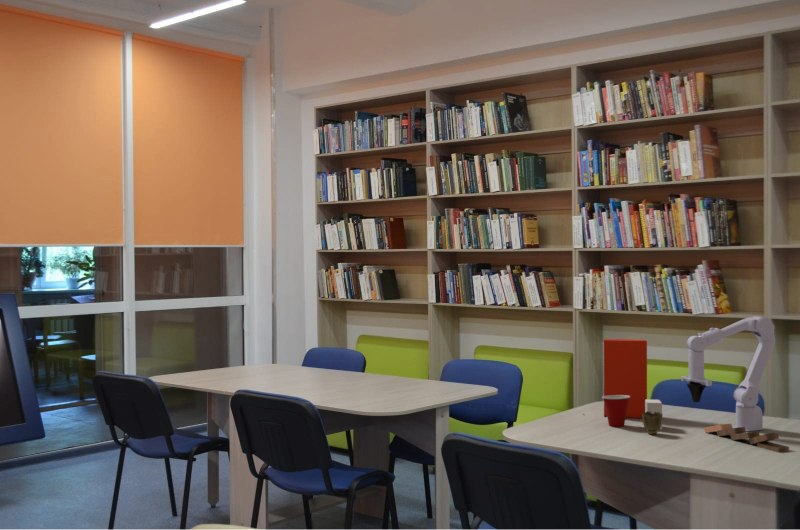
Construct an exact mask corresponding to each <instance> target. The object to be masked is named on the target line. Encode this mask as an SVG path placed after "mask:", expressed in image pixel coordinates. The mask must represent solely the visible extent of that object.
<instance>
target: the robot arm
mask: <svg viewBox="0 0 800 530" xmlns="http://www.w3.org/2000/svg"><path fill="white" fill-rule="evenodd" d="M743 331H750V332H752V333H753V334H754V335H755V337H756V339H757V340H758V345H757V347H756V349H755V352H754V355H753V358H752V360H751V363H750V365H749V368H748V370H747V373H746V375H745V377H744V379H743V380H742V381H741V382H740V383H739V386H738V387H737V388H736V389H735V390H734V392H733V399H734V400H735V401H736V402H735V425H733V426H732V428H739V427H745V430H746V432H756V431H763V430H765V428H764V427H763V423H764V421H763V416H764V415H763V411H762V409H761V407H760V406H759V405H757V404H758V402H759V393H760V386H759V385H760V381H761V380H762V377H763V375H764V372H765V369H766V367H767V365H768V363H769V359H770V357H771V354H772V352H773V349H774V348H775V345H776V335H775V325H774V323H773V322H772V320H771V319H770V318H768V317H765V316H758V315H752V316H750V317H745V318H743V319H741V320H738V321H736V322H734V323H731V324H729V325H728V326H725V327H723V328H721V329H720V328H718V327H710V328H709V330H707V331H704V332H698V333H697V335H691V336H690V337H689V338H688V339H687V342H686V343H685V345H686V347H687V349H688V375H681V376H680V377H681V382H688V383H687V384H686V387H687V388H688V389H689V391H690V394H691V399H692V402H693V403H700V402H701V397H702V394H703V392H704V390H705V389H706V387H712V386H713V381H712V380H711V379H706V378H705V350H706V349H707V348H710V347H712V346H714V345H717V344H719V343H722V342H723V340H724V339H725V338H726V337H728V336H731V335H734V334H737V333H740V332H743Z"/></svg>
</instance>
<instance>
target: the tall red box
mask: <svg viewBox="0 0 800 530" xmlns="http://www.w3.org/2000/svg"><path fill="white" fill-rule="evenodd" d="M608 395H627V396H630V398H629V401H628V406H627V412H626V418H629V419H630V418H632V419H633V418H634V419H636V418H637V419H643V418H642V412H643V413H644V412H645V399H648V340H647V339H632V338H631V339H627V338H626V339H624V338H622V339H621V338H603V396H608ZM603 416H604V417H606V418H608V417H607V413H606V407H605V403H604V402H603Z"/></svg>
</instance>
